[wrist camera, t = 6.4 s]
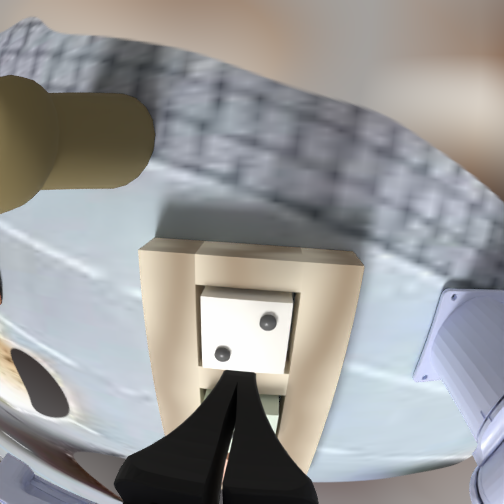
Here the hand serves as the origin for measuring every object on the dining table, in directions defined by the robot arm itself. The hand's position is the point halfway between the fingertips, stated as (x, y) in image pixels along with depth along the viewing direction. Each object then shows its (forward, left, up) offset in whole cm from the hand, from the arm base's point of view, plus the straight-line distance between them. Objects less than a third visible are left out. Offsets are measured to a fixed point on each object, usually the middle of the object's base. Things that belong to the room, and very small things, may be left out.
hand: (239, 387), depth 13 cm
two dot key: (0, 0, -8) cm, 8 cm away
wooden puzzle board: (0, +7, -7) cm, 10 cm away
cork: (+9, -11, -7) cm, 16 cm away
